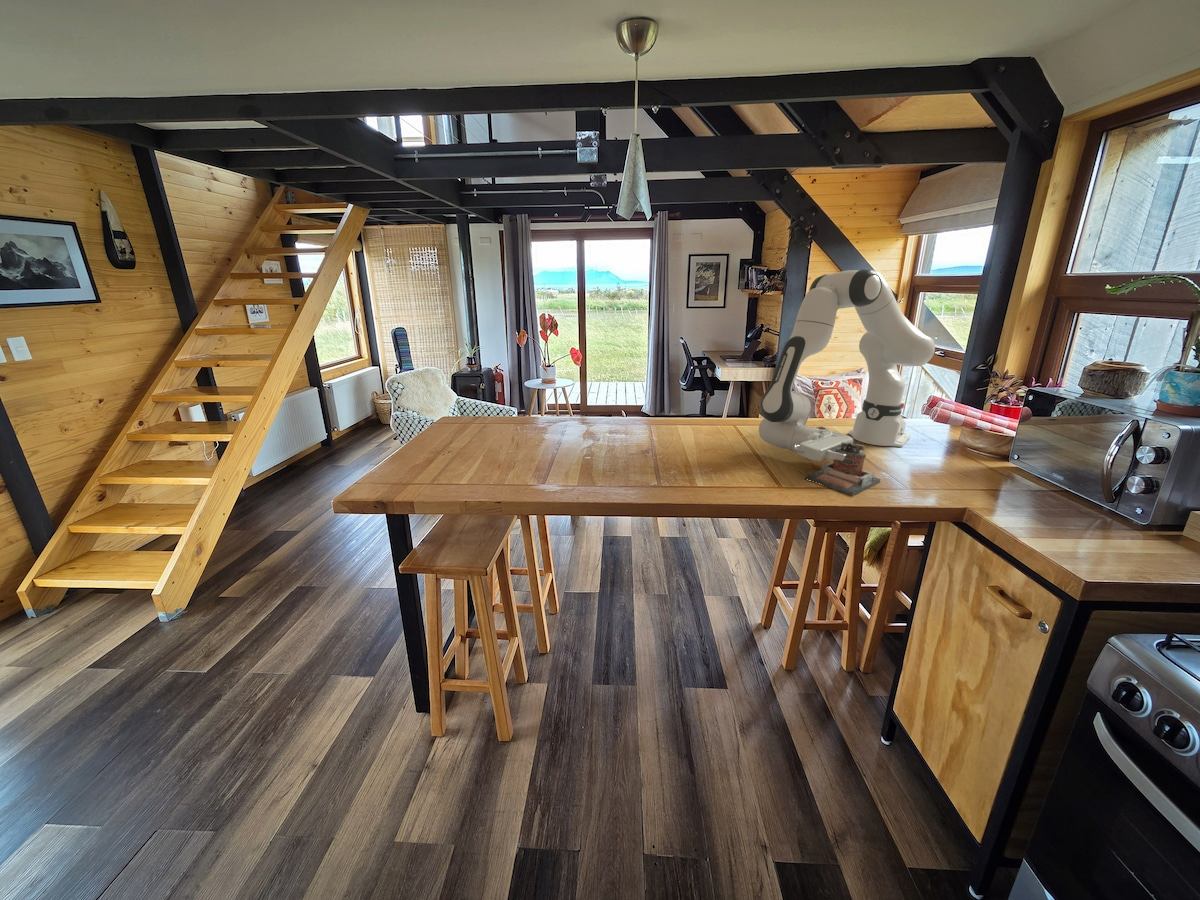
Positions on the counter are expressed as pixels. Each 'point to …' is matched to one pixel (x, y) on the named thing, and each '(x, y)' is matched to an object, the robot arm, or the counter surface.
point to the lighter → (850, 458)
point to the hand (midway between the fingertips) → (853, 454)
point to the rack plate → (843, 479)
